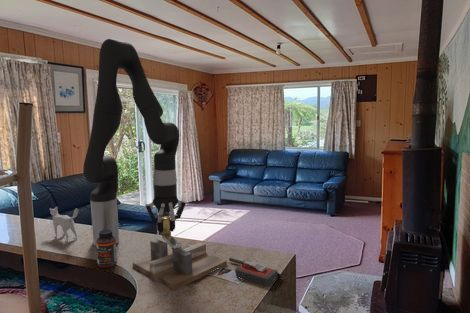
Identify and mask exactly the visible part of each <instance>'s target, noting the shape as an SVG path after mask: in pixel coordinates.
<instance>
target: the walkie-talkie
mask: <svg viewBox="0 0 470 313" xmlns="http://www.w3.org/2000/svg"><path fill="white" fill-rule="evenodd" d="M228 260H229V262H231V263H235V264H240V265H239V266H237V267H236V268H235V272H234V273H235V277H236V276H237V277H240V278H242V279H241V280H243V279H244V281H246V280H247V281H246V282H251V283H253V284H256V285H259V286H263V287H265V288H268V287H269V288H270V286H272V285H273V284H274V283H275V282H276V281H277V280H278V279H282V273H279V272H278V270H276V269H273V268H270V267H267V266H264V265H263V264H262V263H259V262H255V261H253V260H245V261H244V260H239V259H237V258H234V257H233V258H232V257H229V258H228ZM237 277H236V278H237ZM240 278H239V279H240Z"/></svg>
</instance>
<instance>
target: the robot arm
mask: <svg viewBox="0 0 470 313" xmlns="http://www.w3.org/2000/svg"><path fill="white" fill-rule="evenodd" d="M98 54H99V55H98V75H97V76H98V77H97V78H98V79H97V89H96V97H95V103H94V109H93V116H92V126H91V130H90V137H89V142H88V146H87V150H86V154H85V157H84V162H83V169H82V170H83V176H84V179H85V180H86V181H87V182H88V183H89V184H97V183H99V184H98V185H97V186H96V188H94V189H93V190H91V192H90V194H89V195H90V196H89V198H90V199H89V200H90V209H91V210H90V213H91V228H92V230H91V231H92V242H93V246H94V247H97V245H96V241H97V239H98V238H99V237H100V236H99V232H100V231H102V230H112V236H114V237H115V239H116V245H117V244H118V243H120V235H119V234H120V232H119V229H120V228H119V215H118V201H117V200H118V199H117V193H118V190H119V168H118V164H117V161H116V159H115V158H114V157H112V156H110V155H105V152H106V149H107V148H108V145H109V143H110V142H111V140H112V139H113V138H114V136H115V135H116V133H117V132H118V130H119V128H120V126H121V121H122V115H123V103H122V99H121V96H120V94H119V91H118V90H119V89H118V86H117V79H118V70H119V69H120V70H123V71H124V72H126V74H127V76H128V77H129V79H130V82H131V85H132V86H131V87H132V99H133V101H134V103H135V106H136V107H137V109H138V111H139V113H140V115H141V117H142V118H143V123H144V126H145V130H146V133H147V136H148V137H149V140H151V142H153V143H154V144H156V145H159V146H160V147H159V148H160V149H159V150H158V151H157V152H155V154H154V155H153V158H154V159H153V199H152V201H151V202H150V203H145V206H144V207H145V208H146V211H147V213H148V214H149V217H150V219H151V221H152V222H156V230H157V231H158V232H159V234H162V222H161V219H162V217H164V216H163V215H164V213H169V217H170V220H171V233H172V232H174V230H175V229H176V221H177V220H179V219H181V217H182V215H183V212H184V210H185V207H186V202H185V201H184V200H179V198H178V194H177V189H178V188H177V185H178V184H177V183H178V182H177V181H178V179H177V171H176V155H177V151H178V146H179V142H180V131H179V128H178V126H177V125H176V124H175V123H173V122H163V121H162V118H161V117H162V116H163V115H164V110H163V107H162V105H161V103H160V102H159V100H158V98H157V97H156V95H155V93H154V91H153V89H152V87H151V86H150V82H149V81H148V78H147V76H146V74H145V70H144V67H143V65H142V62H141V59H140V57H139V54H138V52H137V50H136V48H135V46H134V45H133V44H132V43H130V42H127V41H123V40H119V39H116V38H107V39H105V40H104V41H103V42H102V44H101V46H100V49H99V53H98ZM176 206H178V208H177V210H176V211H175V210H174V209H175V207H176ZM154 207H155V208H156V209H157V212H156V216H155V215H154V212H153V209H154Z"/></svg>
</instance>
